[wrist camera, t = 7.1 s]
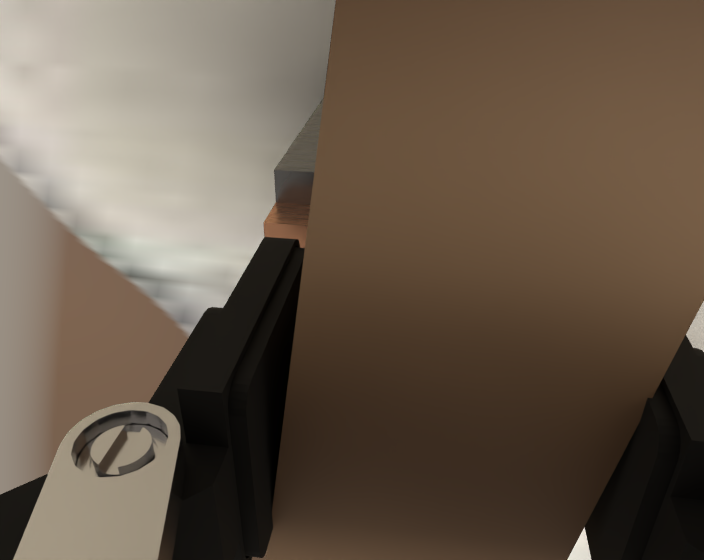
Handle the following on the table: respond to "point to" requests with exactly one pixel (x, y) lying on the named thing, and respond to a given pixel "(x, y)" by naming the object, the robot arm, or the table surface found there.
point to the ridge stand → (295, 184)
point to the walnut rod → (488, 272)
